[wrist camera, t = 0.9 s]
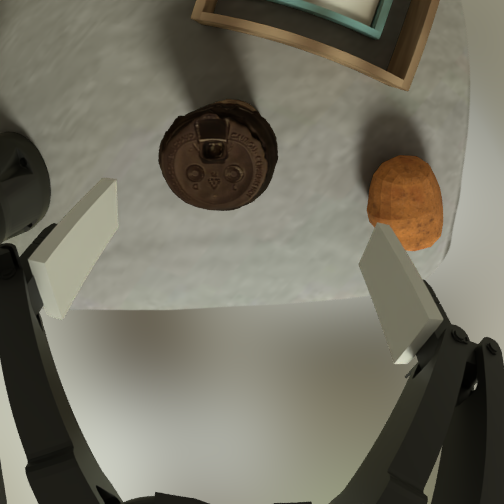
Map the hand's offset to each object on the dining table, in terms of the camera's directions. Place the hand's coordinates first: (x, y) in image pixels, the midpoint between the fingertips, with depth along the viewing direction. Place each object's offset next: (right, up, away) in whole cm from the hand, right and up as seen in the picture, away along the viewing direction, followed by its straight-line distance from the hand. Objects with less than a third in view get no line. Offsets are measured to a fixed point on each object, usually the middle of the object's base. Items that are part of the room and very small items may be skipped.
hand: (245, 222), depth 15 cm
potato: (+17, +6, +19) cm, 26 cm away
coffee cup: (-2, +12, +16) cm, 20 cm away
